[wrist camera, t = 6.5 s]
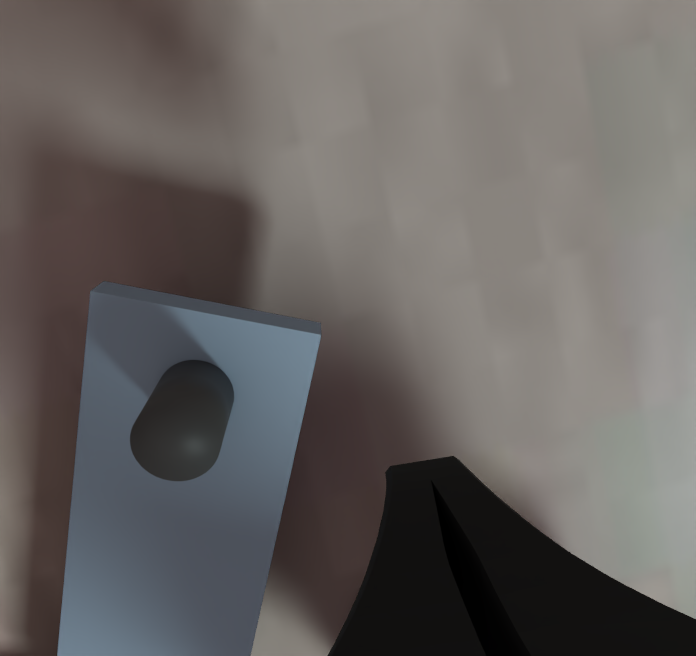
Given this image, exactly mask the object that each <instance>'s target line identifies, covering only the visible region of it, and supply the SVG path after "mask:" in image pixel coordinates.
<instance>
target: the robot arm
mask: <svg viewBox="0 0 696 656" xmlns="http://www.w3.org/2000/svg"><path fill="white" fill-rule="evenodd" d="M385 474H386V498H385V504H384V511H383V515H382V520H381V524H380V529H379V533H378V537H377V541H376V544H375V547H374V550H373V553H372V557H371V560H370V563H369V566H368V569H367V572H366V575H365V577H364V580H363V583H362V585H361V588H360V590H359V593H358V595H357V597H356V600H355V602H354V604H353V607H352V609H351V611H350V613H349V615H348V618H347V620H346V621H345V623H344V625H343V627H342V629H341V631H340V633H339V635H338V637H337V639H336V641H335V643H334V645H333V647H332V649H331V651H330V652H329V654H328V656H696V619H694V618H692V617H689V616H687V615H685V614H683V613H681V612H678V611H676V610H674V609H672V608H670V607H667V606H665V605H663V604H661V603H659V602H657V601H655V600H653V599H651V598H649V597H647V596H645V595H644V594H642V593H640V592H638V591H636V590H634V589H632V588H630V587H628V586H626V585H624V584H622V583H620V582H618V581H617V580H615V579H613V578H611V577H609V576H608V575H606V574H604V573H602V572H601V571H599V570H598V569H596V568H594V567H593V566H591V565H589V564H588V563H586V562H584V561H583V560H581V559H579V558H578V557H576V556H575V555H573V554H571V553H570V552H568V551H567V550H565V549H564V548H563V547H561V546H560V545H558V544H557V543H555V542H554V541H553V540H551V539H550V538H549V537H547V536H546V535H544V534H543V533H542V532H540V531H539V530H538V529H536V528H535V527H534V526H533V525H531V524H530V523H529V522H527V521H526V520H525V519H524V518H522V517H521V516H520V515H519V514H518V513H516V512H515V511H514V510H513V509H512V508H510V507H509V506H508V505H507V504H506V503H504V502H503V501H502V500H501V499H500V498H499V497H497V496H496V495H495V494H494V493H493V492H492V491H491V490H490V489H489V488H487V487H486V486H485V485H484V484H483V483H482V482H481V481H480V480H479V479H478V478H477V477H476V476H475V475H474V474H473V473H472V472H470V471H469V470H468V469H467V468H466V467H465V466H464V465H463V464H462V463H461V462H460V461H459V460H458V459H457V458H455V457H454V456H450V457H444V458H438V459H432V460H426V461H420V462H413V463H407V464H401V465H395V466H390V467H389V469H388V470H387V471H386V472H385Z"/></svg>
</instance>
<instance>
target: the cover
mask: <svg viewBox="0 0 696 656" xmlns="http://www.w3.org/2000/svg"><path fill="white" fill-rule="evenodd" d="M320 339H321V323H319V322H314V321H309V320H304V319H298V318H293V317H288V316H283V315H278V314H272V313H267V312H262V311H257V310H252V309H246V308H241V307H236V306H231V305H226V304H221V303H215V302H210V301H205V300H200V299H195V298H189V297H184V296H179V295H174V294H169V293H163V292H158V291H153V290H148V289H143V288H137V287H132V286H127V285H122V284H117V283H112V282H106V281H103V282H102V283H100V284H99V285H98V286H97V287H95V288H94V289H93V290H91V291H90V301H89V312H88V323H87V334H86V345H85V356H84V367H83V378H82V389H81V400H80V411H79V422H78V433H77V444H76V455H75V466H74V477H73V488H72V499H71V510H70V521H69V532H68V543H67V554H66V565H65V576H64V587H63V598H62V609H61V620H60V631H59V641H58V652H57V656H250V655H251V650H252V646H253V641H254V637H255V632H256V628H257V623H258V619H259V614H260V610H261V605H262V601H263V596H264V592H265V587H266V583H267V578H268V574H269V569H270V565H271V560H272V556H273V551H274V546H275V542H276V537H277V533H278V528H279V524H280V519H281V515H282V510H283V506H284V501H285V497H286V492H287V488H288V483H289V479H290V474H291V470H292V465H293V461H294V456H295V452H296V447H297V443H298V438H299V433H300V429H301V424H302V420H303V415H304V411H305V406H306V402H307V397H308V393H309V388H310V384H311V379H312V375H313V370H314V366H315V361H316V357H317V352H318V348H319V343H320Z"/></svg>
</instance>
